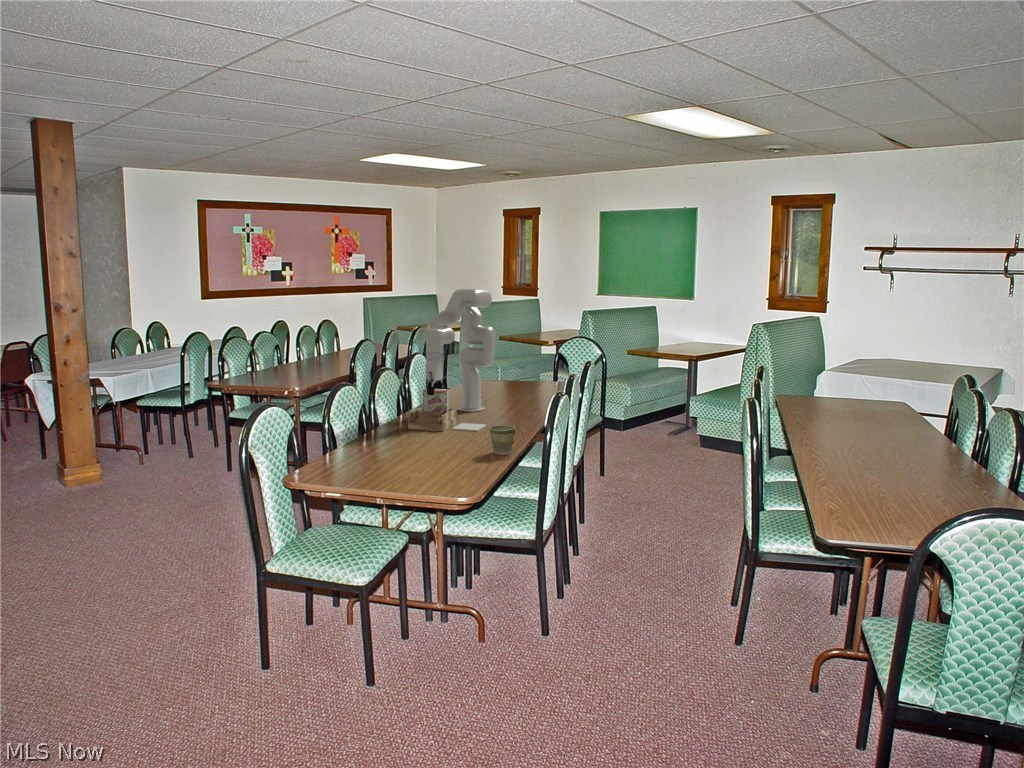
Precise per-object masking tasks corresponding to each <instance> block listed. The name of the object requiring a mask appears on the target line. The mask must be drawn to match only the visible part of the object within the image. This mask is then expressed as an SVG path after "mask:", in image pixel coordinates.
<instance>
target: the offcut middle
mask: <svg viewBox="0 0 1024 768" xmlns="http://www.w3.org/2000/svg"><path fill="white" fill-rule="evenodd" d="M416 423H429V424H441V418H440V419H439V420H419V418H418V419H416Z"/></svg>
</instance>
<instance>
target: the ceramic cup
mask: <svg viewBox="0 0 1024 768" xmlns="http://www.w3.org/2000/svg"><path fill="white" fill-rule="evenodd" d="M488 429H489V432H490V433H489V434H490V439H491V444H492V450H493V454H494V455H498V456H499V455H501V456H506V455H510V454H511V453H512V447H513V445H514V444H515V443H516V442H517V440H518V439H520V438H521V437H523V435H524V433H523V431H522V429H516V426H513V425H510V424H509V425H508V424H506V425H505V424H499V425H492V426H489V428H488ZM518 432H520V433H521V435H520V436H518V437H517V438H516V439H515V440H514V437H515V435H516V433H518Z"/></svg>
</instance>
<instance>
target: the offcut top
mask: <svg viewBox="0 0 1024 768" xmlns="http://www.w3.org/2000/svg"><path fill="white" fill-rule="evenodd" d="M439 419H440V412H420V413H419V420H439Z"/></svg>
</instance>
